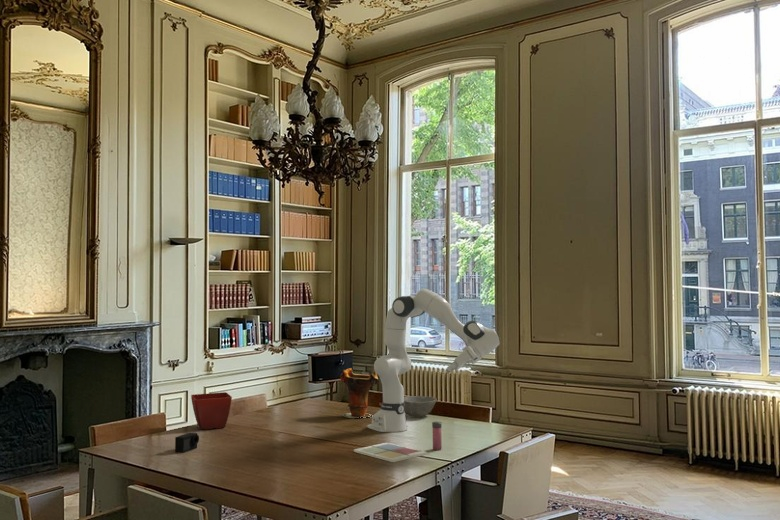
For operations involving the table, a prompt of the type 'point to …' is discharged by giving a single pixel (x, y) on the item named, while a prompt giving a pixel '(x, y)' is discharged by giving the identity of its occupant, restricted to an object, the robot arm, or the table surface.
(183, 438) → the digital camera
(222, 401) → the plant pot
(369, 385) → the decorative vase
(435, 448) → the marker
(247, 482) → the table surface
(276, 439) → the table surface
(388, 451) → the picture board
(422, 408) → the ceramic bowl
